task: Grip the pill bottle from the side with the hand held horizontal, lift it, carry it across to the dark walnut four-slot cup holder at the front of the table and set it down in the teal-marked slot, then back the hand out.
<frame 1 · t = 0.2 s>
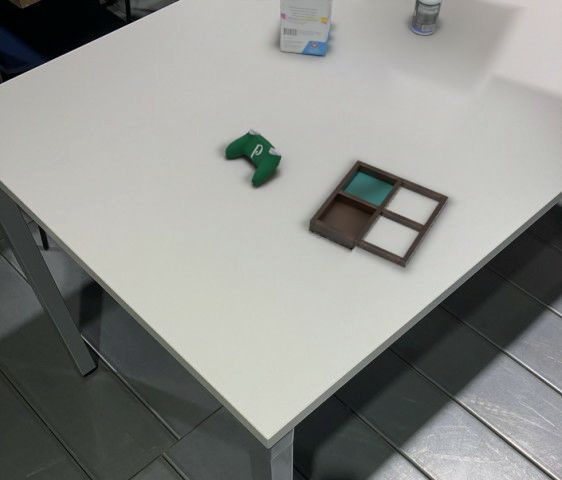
gaming controller: (254, 166, 99), on the table
holder: (378, 218, 93), on the table
pill bottle: (422, 29, 120), on the table
ink box: (305, 42, 117), on the table
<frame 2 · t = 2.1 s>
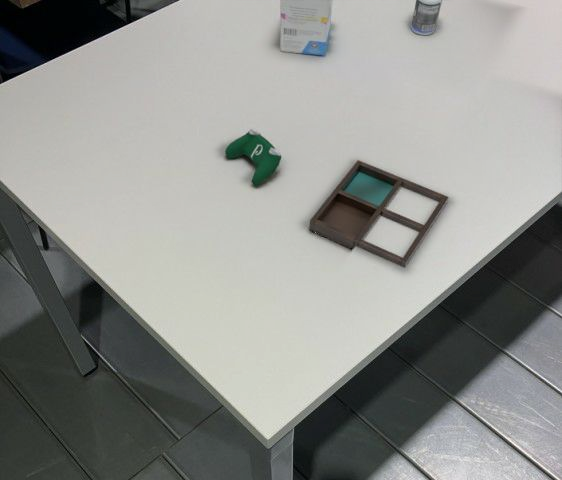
nothing on the table moved.
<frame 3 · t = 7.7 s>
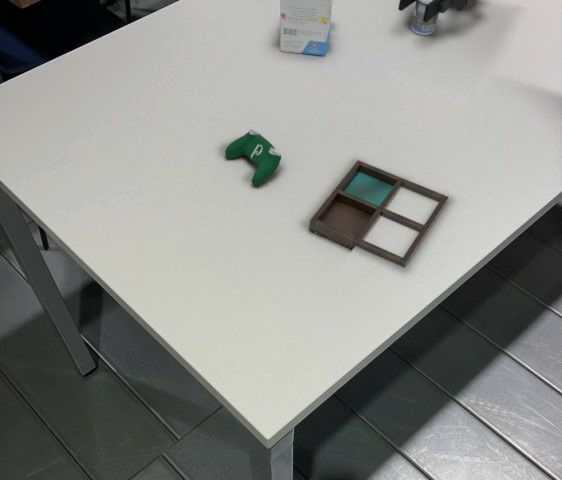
hand: (413, 8, 112), 6 cm above the table, tool horizontal, fingers closed on pill bottle, 5 cm apart
pill bottle: (422, 29, 120), on the table, touching gripper
everything else where it was.
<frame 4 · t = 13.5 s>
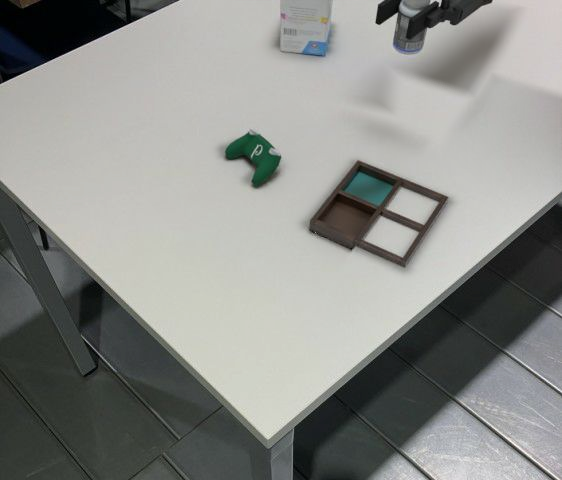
hand: (394, 22, 89), 18 cm above the table, tool horizontal, fingers closed on pill bottle, 5 cm apart
pill bottle: (407, 48, 96), point 12 cm above the table, touching gripper
everything else where it was.
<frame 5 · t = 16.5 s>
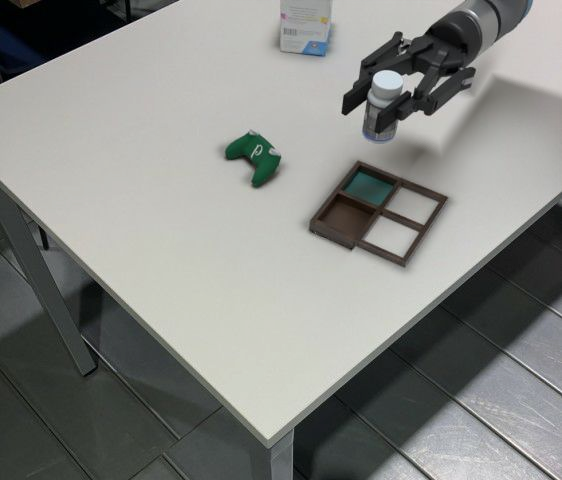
hand: (361, 114, 80), 17 cm above the table, tool horizontal, fingers closed on pill bottle, 5 cm apart
pill bottle: (378, 135, 87), point 10 cm above the table, touching gripper
everything else where it was.
when the fingers open (7 cm above the table, at t = 19.4 s): pill bottle stays where it is, resting on holder.
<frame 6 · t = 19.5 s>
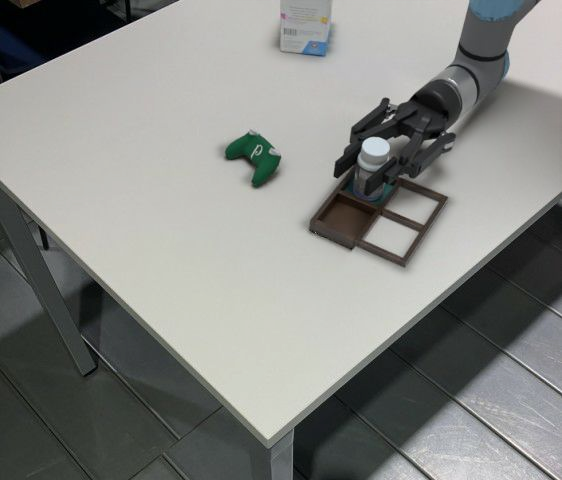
hand: (351, 179, 88), 7 cm above the table, tool horizontal, fingers open, 5 cm apart
pill bottle: (367, 192, 95), point 1 cm above the table, touching holder
everything else where it was.
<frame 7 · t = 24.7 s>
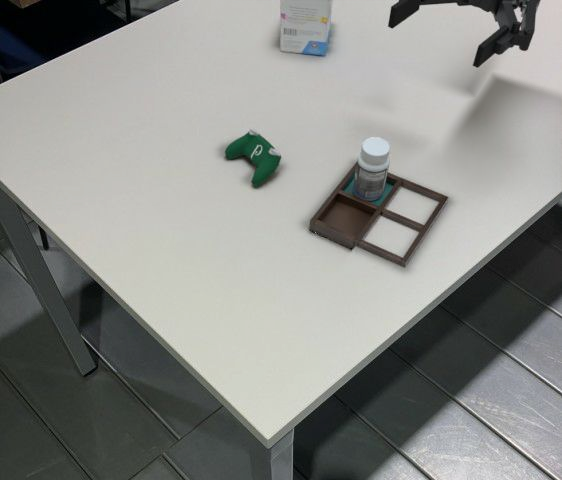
hand: (433, 36, 82), 21 cm above the table, tool horizontal, fingers open, 13 cm apart
nothing on the table moved.
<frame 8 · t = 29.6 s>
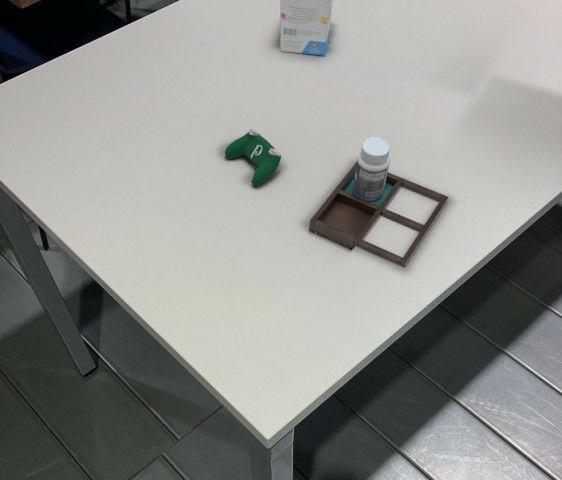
nothing on the table moved.
at the end: pill bottle 0.1 cm from the target spot in the holder, point 0.5 cm above the holder's base; pill bottle tilted 0°; the gripper is holding nothing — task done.
